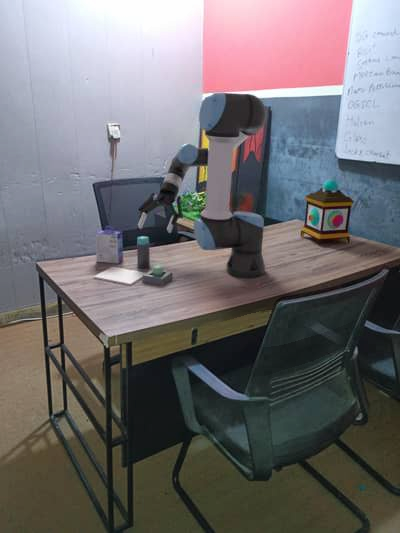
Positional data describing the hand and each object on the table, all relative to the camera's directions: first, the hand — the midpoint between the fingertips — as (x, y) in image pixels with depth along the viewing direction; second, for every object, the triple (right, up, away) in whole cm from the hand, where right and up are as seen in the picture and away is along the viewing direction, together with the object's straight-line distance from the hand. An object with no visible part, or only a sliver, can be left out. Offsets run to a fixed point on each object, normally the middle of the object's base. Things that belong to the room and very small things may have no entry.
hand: (153, 229), depth 177 cm
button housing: (+3, -20, -17) cm, 27 cm away
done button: (+3, -18, -18) cm, 26 cm away
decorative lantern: (+81, -2, +39) cm, 90 cm away
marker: (-4, -15, -4) cm, 16 cm away
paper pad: (-11, -19, -14) cm, 26 cm away
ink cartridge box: (-18, -13, +2) cm, 23 cm away
